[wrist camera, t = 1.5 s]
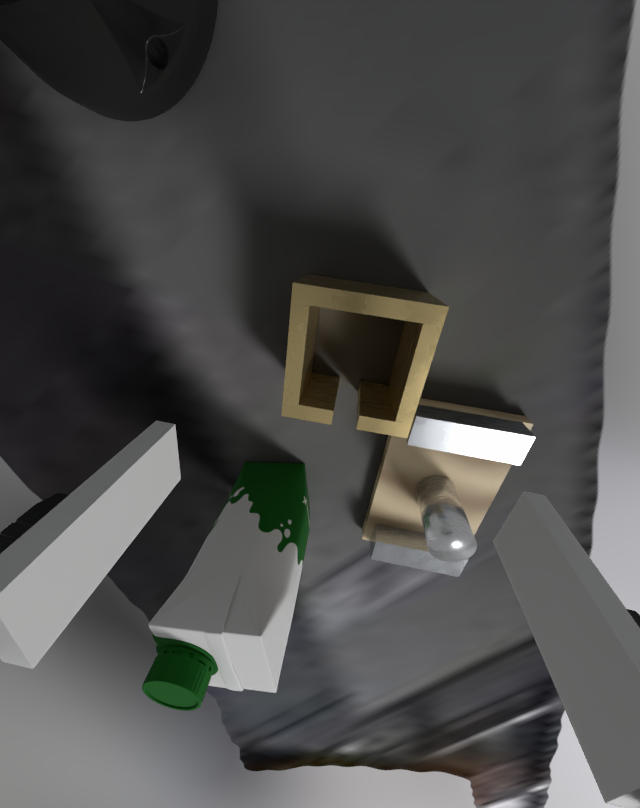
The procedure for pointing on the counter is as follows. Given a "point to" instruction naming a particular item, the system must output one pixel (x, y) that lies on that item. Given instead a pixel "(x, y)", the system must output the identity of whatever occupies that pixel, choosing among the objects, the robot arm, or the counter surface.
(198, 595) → the milk carton
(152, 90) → the robot arm
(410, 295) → the gold square frame
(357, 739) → the counter surface
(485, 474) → the bench plate
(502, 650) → the counter surface
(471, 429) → the grey metal piece
